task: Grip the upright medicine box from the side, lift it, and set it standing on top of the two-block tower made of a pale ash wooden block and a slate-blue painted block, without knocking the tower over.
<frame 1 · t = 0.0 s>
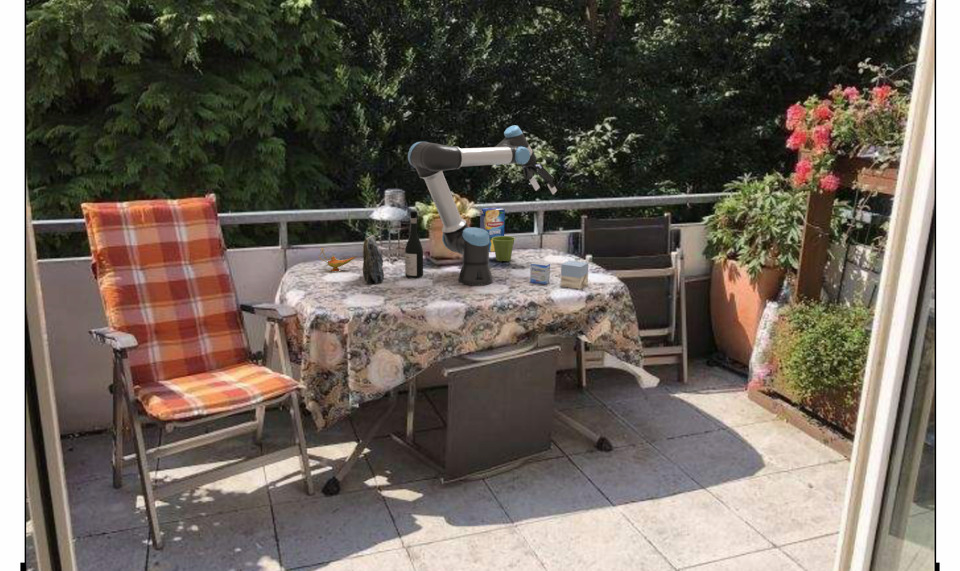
hand: (546, 190, 372), 36 cm above the table, tool tilted 35°, fingers open, 13 cm apart
wine bottle: (414, 277, 353), on the table
plant pot: (503, 260, 387), on the table
magic lamp: (339, 271, 362), on the table
stone block: (374, 280, 346), on the table
beverage box: (491, 250, 410), on the table
tower base block: (574, 285, 342), on the table, touching tower top block
medicine box: (539, 283, 346), on the table
tower top block: (574, 274, 341), point 5 cm above the table, touching tower base block
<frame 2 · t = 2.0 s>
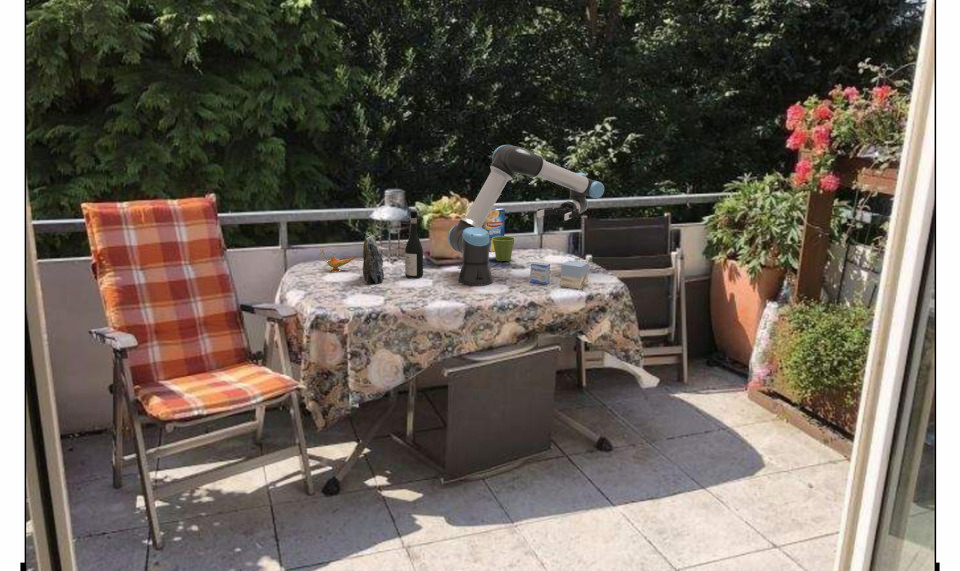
hand: (551, 216, 347), 28 cm above the table, tool horizontal, fingers open, 13 cm apart
nothing on the table moved.
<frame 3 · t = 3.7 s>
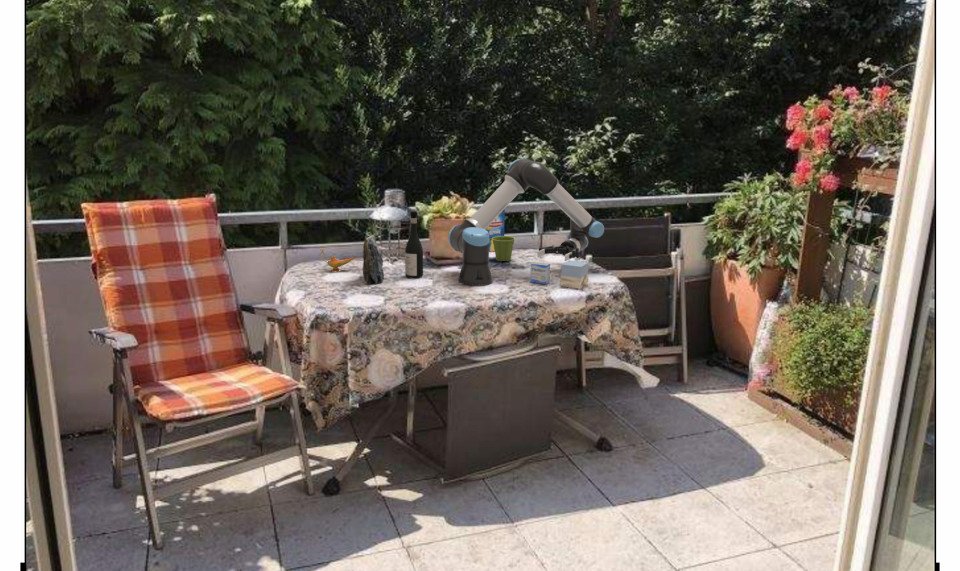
hand: (551, 256, 352), 10 cm above the table, tool horizontal, fingers open, 13 cm apart
tower base block: (574, 285, 342), on the table
tower top block: (574, 274, 341), point 5 cm above the table
everything else where it was.
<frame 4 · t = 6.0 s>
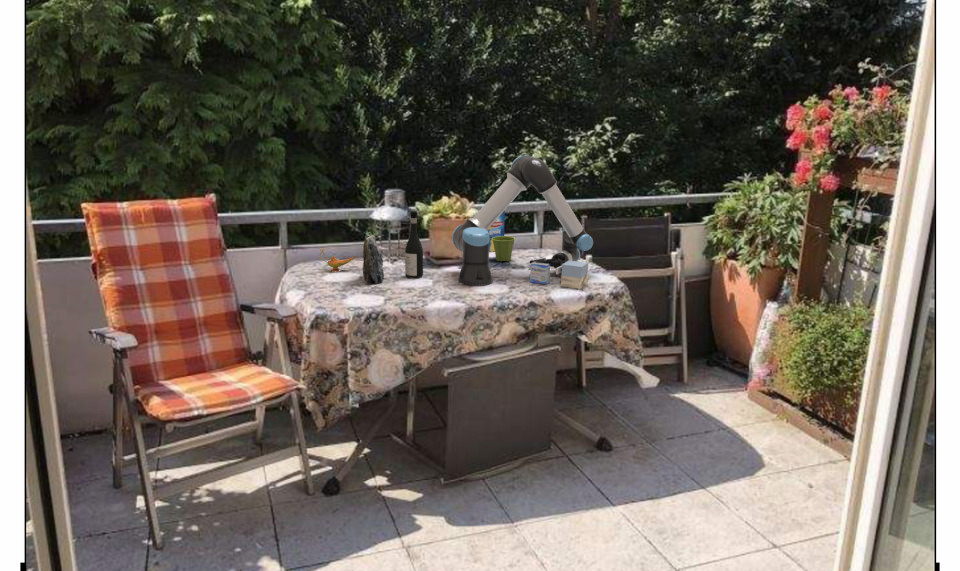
hand: (542, 269, 345), 6 cm above the table, tool horizontal, fingers open, 13 cm apart
tower base block: (574, 285, 342), on the table, touching tower top block
tower top block: (574, 274, 341), point 5 cm above the table, touching tower base block
everything else where it was.
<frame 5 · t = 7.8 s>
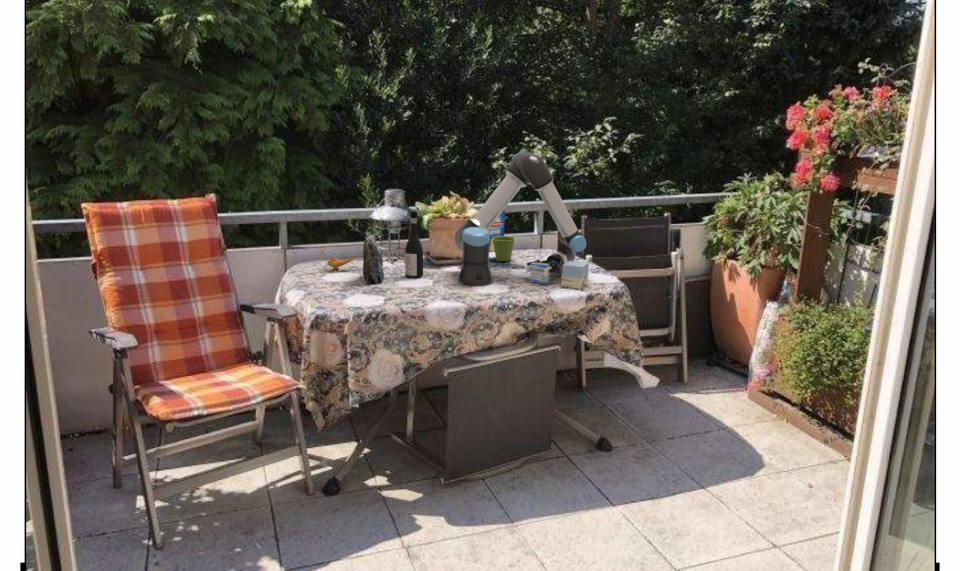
hand: (535, 271, 340), 6 cm above the table, tool horizontal, fingers closed on medicine box, 8 cm apart
medicine box: (539, 282, 346), on the table, touching gripper
everything else where it was.
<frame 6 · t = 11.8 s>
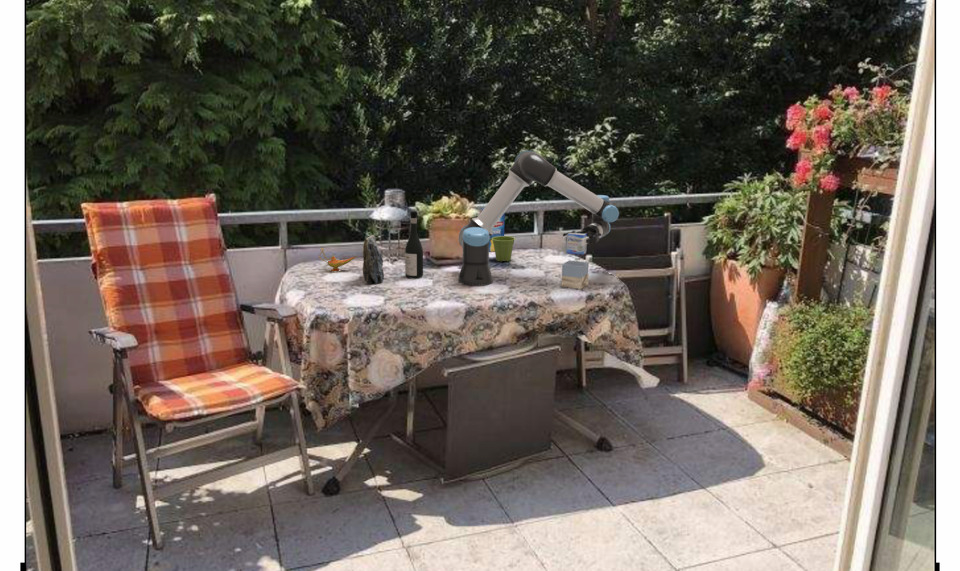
hand: (572, 241, 333), 20 cm above the table, tool horizontal, fingers closed on medicine box, 8 cm apart
tower base block: (574, 285, 342), on the table
medicine box: (576, 253, 338), point 14 cm above the table, touching gripper
tower top block: (575, 274, 341), point 5 cm above the table
everything else where it was.
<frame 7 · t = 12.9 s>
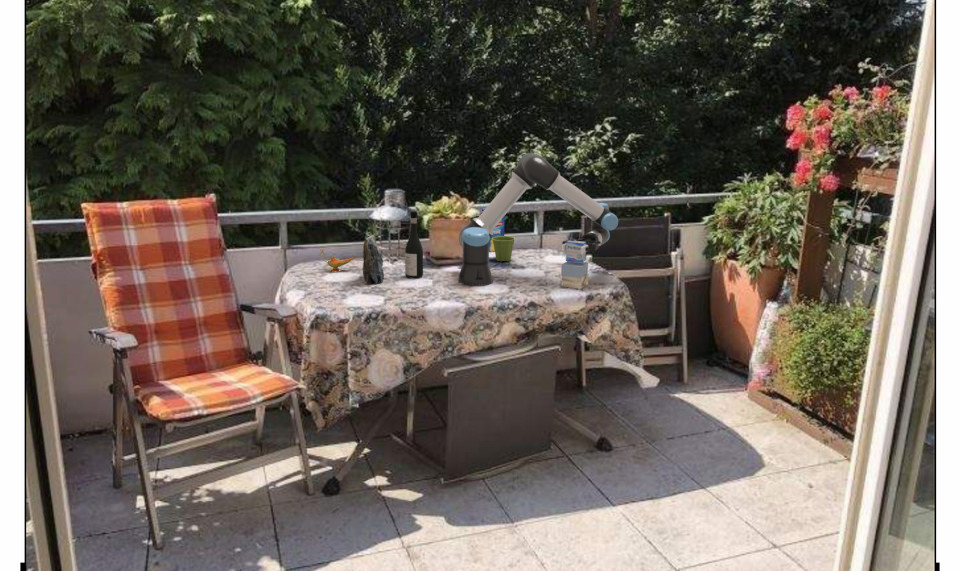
hand: (572, 249, 334), 17 cm above the table, tool horizontal, fingers closed on medicine box, 8 cm apart
medicine box: (575, 261, 339), point 11 cm above the table, touching gripper
everything else where it was.
when the fingers open (17 cm above the table, at t = 13.0 s): medicine box drops 1 cm, point 10 cm above the table.
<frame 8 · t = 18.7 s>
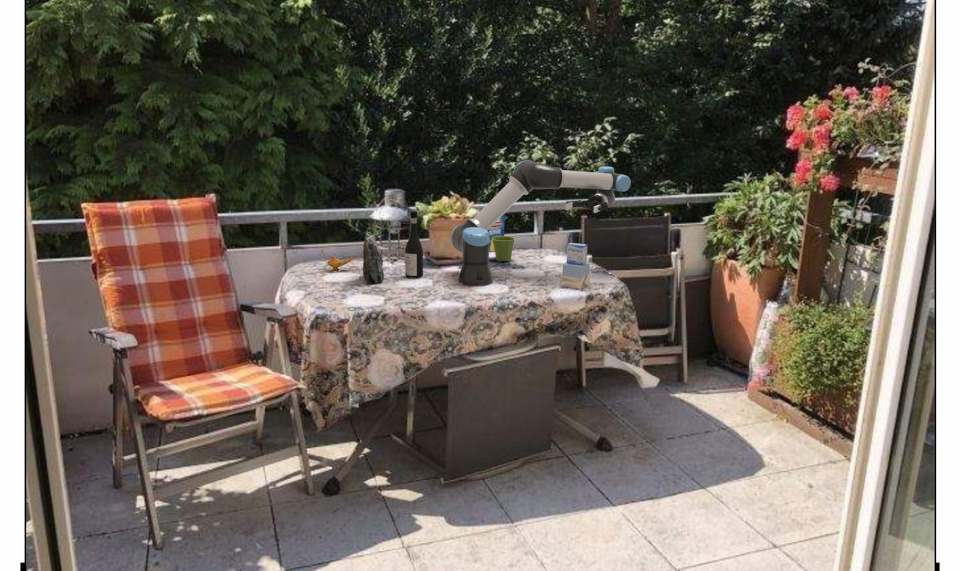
hand: (580, 208, 346), 32 cm above the table, tool horizontal, fingers open, 13 cm apart
tower base block: (575, 285, 342), on the table, touching tower top block
medicine box: (576, 263, 340), point 10 cm above the table
tower top block: (575, 274, 341), point 5 cm above the table, touching tower base block
everything else where it was.
at the end: medicine box 0.2 cm off-centre on the tower top block, point 4.8 cm above the tower top block's base; medicine box tilted 0°; tower base block moved 0.5 cm from its start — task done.
